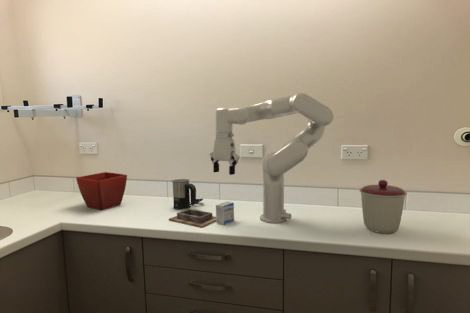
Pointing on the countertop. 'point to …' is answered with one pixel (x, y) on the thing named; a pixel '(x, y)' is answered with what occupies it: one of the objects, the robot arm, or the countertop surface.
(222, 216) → the medicine box
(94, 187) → the plant pot
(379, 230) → the canister
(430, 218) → the countertop surface
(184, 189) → the milk frother
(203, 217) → the holder
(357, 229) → the countertop surface
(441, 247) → the countertop surface
